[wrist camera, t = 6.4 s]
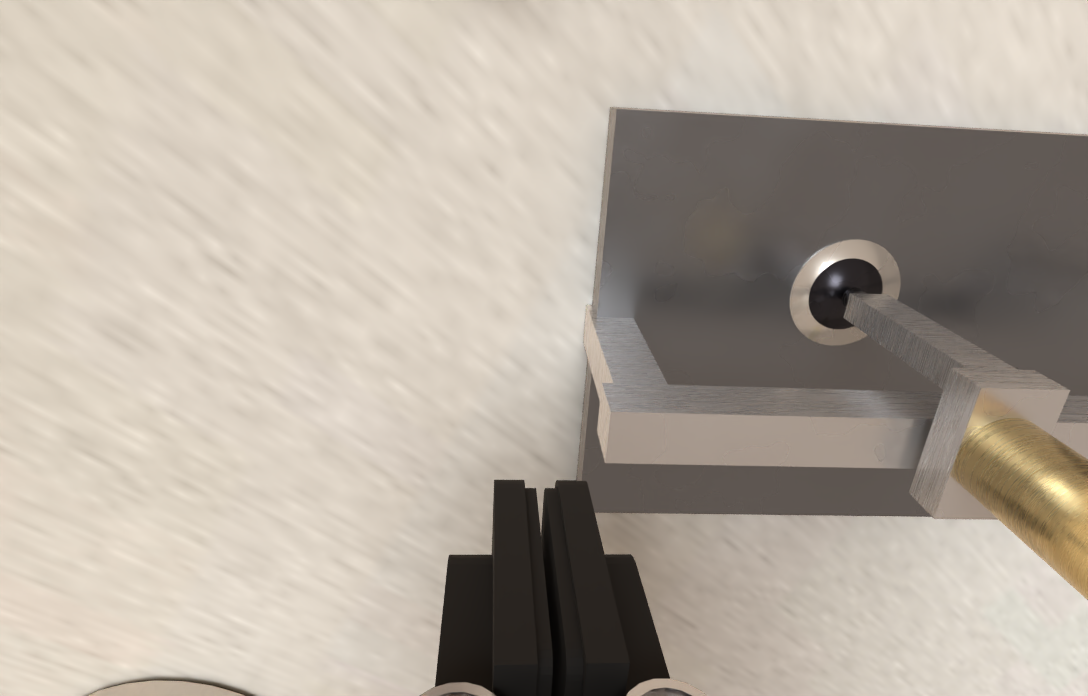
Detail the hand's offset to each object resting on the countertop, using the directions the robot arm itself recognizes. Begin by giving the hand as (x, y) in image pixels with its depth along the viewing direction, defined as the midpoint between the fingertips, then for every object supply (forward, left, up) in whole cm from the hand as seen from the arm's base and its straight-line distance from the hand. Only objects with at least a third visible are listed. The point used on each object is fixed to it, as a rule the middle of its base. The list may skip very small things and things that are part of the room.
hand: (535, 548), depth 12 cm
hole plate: (0, -14, -11) cm, 18 cm away
